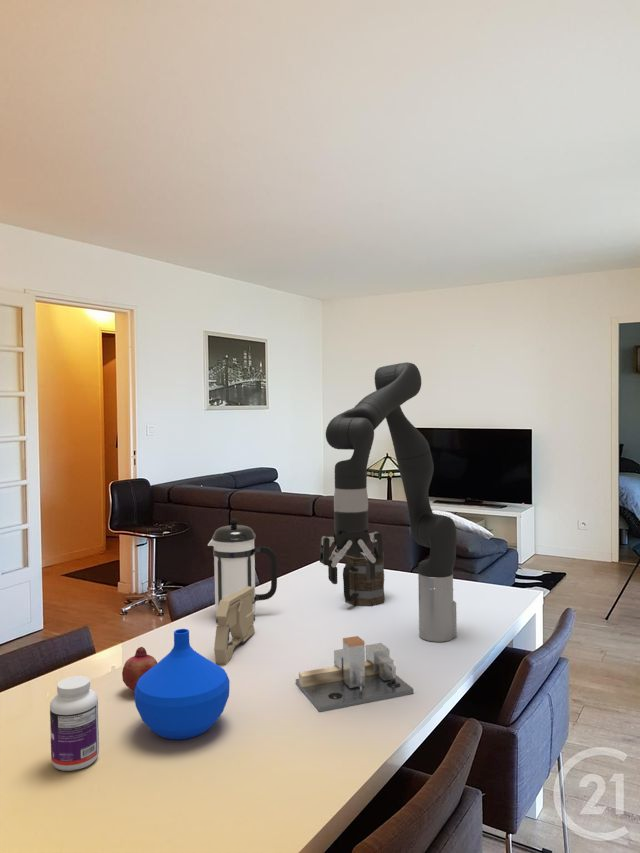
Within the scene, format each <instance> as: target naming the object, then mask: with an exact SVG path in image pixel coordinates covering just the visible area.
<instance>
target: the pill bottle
mask: <svg viewBox="0 0 640 853" xmlns="http://www.w3.org/2000/svg"><path fill="white" fill-rule="evenodd" d="M56 684H57V685H56V691H57V692H56V693H57V694H55V695H54V696H53V698H52V699H51V701H50V705H49V716H50V718H49V722H50V724H49V725H50V729H49V730H50V757H51V759H50V760H51V764H52V766H53V767H54V768H55V769H57V770H59V771H63V772H65V771H66V772H67V771H68V772H70V771H77V770H81V769H85V768H86V767H88V766H90V765H91V764H93V763H94V762H95V761H96V760H97V758H98V757H99V754H100V741H99V740H100V737H99V732H100V731H99V701H98V700H99V698H98V693H97V692H96V691H94V690H93V689H91V679H90V678H89V677H87V676H84V675H73V676H68V677H65V678H63V679H61V680H60V681H58V683H56Z"/></svg>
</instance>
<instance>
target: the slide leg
mask: <svg viewBox="0 0 640 853" xmlns="http://www.w3.org/2000/svg"><path fill="white" fill-rule="evenodd" d="M333 657H334V658H333V660H334V661H333V664H334V666H338V667H339V668H340V669H341V677H344V683H345V684H346V685H347V686H348V687H349V688H353V687H359V690H363V686H364V685H365V661H366V645H365V640H364V639H362V638H361V637H359V635H356V636H350V637H344V638H342V648H341V649H334V650H333ZM334 666H333V667H334Z"/></svg>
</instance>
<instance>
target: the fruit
mask: <svg viewBox="0 0 640 853" xmlns="http://www.w3.org/2000/svg"><path fill="white" fill-rule="evenodd" d="M157 663H158V661H157V660H156V658H155V657H154V656H152V655H151V654H148V653H147V650H146V648H145V647H143V646H140V647H137V649H136V651H135V654H134V655H133V656H132V657H129V658H128V659H127V660H126V661H125V663H124V665H123V666H122V672H121V675H122V682H123V683H124V685H125V686H126V687H127V688H128V689H130V690H132V691H135V688H136V685H137V682H138V680H139V678H140V677H141V676H142V675H143V674H144V673H146V672H147V671H148V670H150V669H151V668H152V667H153V666H155V665H156V664H157Z"/></svg>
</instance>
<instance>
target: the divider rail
mask: <svg viewBox="0 0 640 853" xmlns="http://www.w3.org/2000/svg"><path fill="white" fill-rule="evenodd" d="M374 674H379V671H373V664H372V663H371V662H370V661H366V660H365V676H368V675H374ZM298 679H299V684H300V685H301V686H302V687H307V686H313V685H318V684H324V683H329V682H335V681H341V680H344V677H341V669H340V668H339V667H338V666H330V667H324V668H316V669H312V670H307V671H299V672H298Z"/></svg>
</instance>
